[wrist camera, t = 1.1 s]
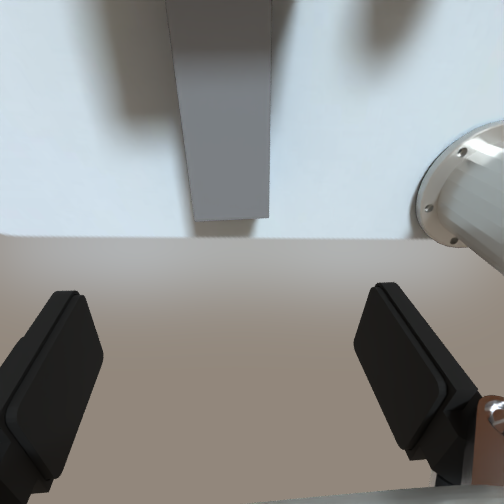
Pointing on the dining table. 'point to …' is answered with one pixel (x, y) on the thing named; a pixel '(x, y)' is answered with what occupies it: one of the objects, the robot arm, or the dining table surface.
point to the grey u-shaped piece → (224, 103)
